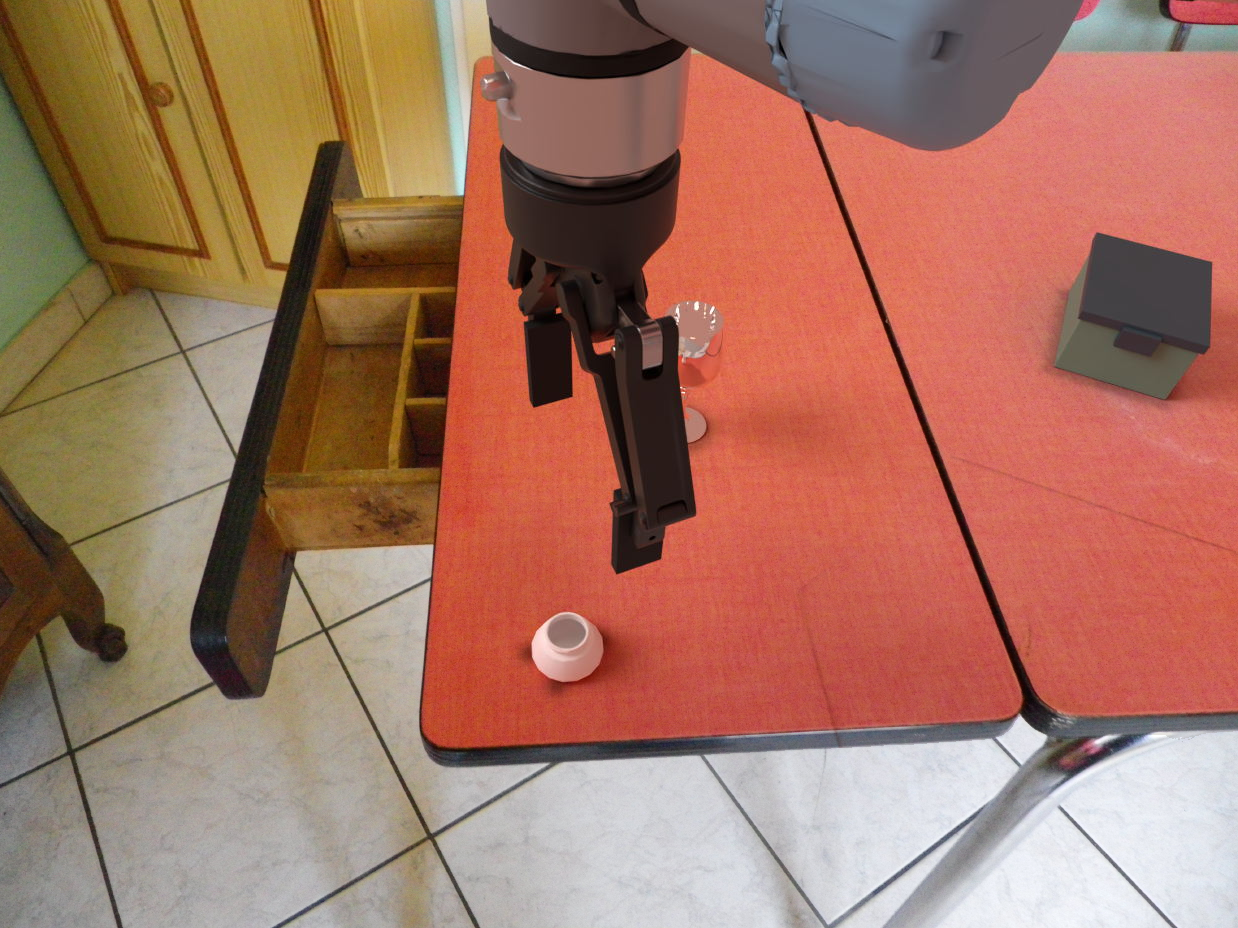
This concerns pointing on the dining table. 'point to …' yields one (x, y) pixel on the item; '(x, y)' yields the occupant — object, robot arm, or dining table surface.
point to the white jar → (567, 647)
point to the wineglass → (698, 354)
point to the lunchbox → (1136, 316)
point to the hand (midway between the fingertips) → (590, 474)
